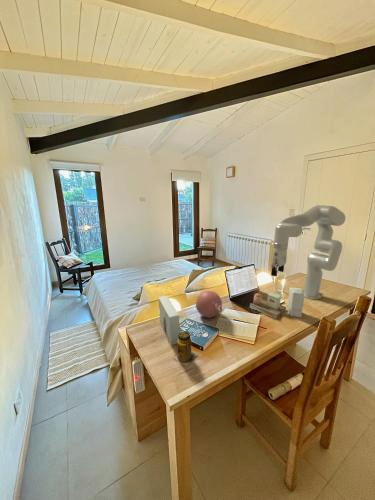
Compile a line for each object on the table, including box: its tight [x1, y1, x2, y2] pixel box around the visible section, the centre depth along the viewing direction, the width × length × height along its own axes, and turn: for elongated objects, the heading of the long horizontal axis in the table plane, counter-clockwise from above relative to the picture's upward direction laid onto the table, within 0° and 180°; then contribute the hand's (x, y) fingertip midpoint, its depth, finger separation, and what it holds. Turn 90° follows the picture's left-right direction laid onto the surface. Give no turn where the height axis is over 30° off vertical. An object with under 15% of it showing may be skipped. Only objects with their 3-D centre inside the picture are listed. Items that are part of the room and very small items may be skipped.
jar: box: [252, 292, 263, 306], centre depth 135 cm, size 5×5×7 cm
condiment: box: [173, 331, 198, 367], centre depth 93 cm, size 7×8×12 cm
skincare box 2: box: [286, 287, 305, 318], centre depth 127 cm, size 8×7×16 cm
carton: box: [266, 292, 282, 310], centre depth 132 cm, size 6×5×8 cm
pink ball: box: [195, 290, 223, 319], centre depth 123 cm, size 15×20×15 cm
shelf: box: [249, 297, 287, 320], centre depth 134 cm, size 15×17×3 cm
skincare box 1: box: [158, 294, 181, 346], centre depth 110 cm, size 21×6×16 cm, turn 22°
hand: (277, 273), depth 127 cm, fingers open, 9 cm apart
